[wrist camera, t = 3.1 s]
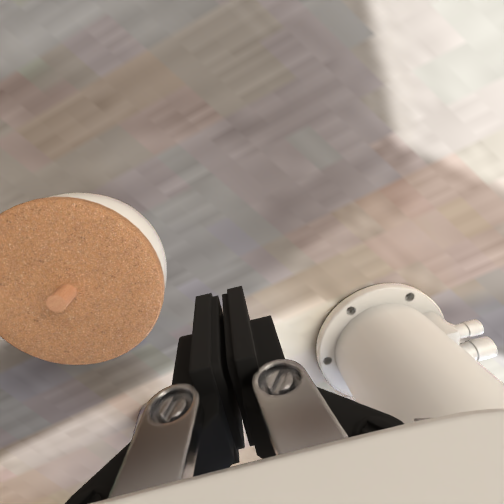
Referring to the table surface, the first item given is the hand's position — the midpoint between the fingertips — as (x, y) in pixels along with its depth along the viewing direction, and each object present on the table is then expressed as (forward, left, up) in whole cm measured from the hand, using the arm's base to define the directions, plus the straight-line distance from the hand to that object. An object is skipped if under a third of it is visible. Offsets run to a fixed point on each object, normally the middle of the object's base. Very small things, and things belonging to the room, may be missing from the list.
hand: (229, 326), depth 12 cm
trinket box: (+9, 0, -16) cm, 19 cm away
